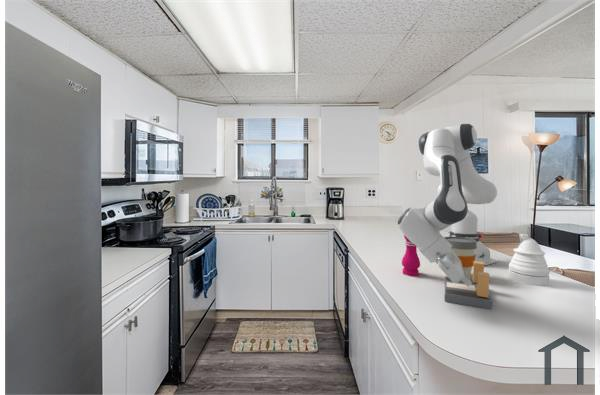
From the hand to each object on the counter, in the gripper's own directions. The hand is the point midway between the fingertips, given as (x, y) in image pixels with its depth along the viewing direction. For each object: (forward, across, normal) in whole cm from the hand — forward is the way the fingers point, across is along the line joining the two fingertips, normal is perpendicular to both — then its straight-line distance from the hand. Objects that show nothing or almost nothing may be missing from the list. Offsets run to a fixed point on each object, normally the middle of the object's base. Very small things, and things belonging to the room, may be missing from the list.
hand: (470, 284), depth 97 cm
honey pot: (+20, +36, -12) cm, 43 cm away
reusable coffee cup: (+3, +29, +6) cm, 30 cm away
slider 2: (+5, 0, 0) cm, 5 cm away
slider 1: (+5, +14, 0) cm, 15 cm away
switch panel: (+4, +7, +5) cm, 9 cm away
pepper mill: (-10, +23, +18) cm, 31 cm away
